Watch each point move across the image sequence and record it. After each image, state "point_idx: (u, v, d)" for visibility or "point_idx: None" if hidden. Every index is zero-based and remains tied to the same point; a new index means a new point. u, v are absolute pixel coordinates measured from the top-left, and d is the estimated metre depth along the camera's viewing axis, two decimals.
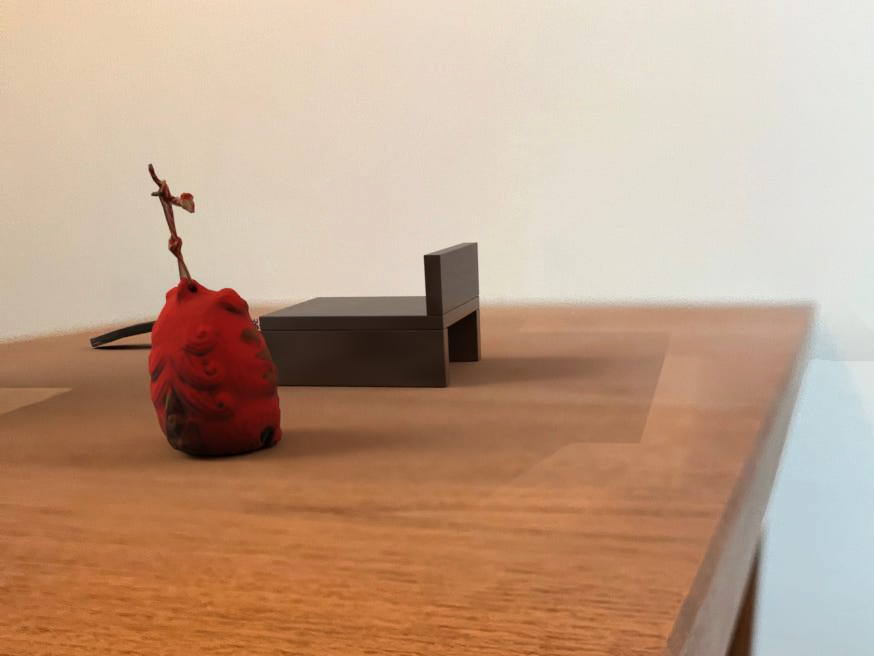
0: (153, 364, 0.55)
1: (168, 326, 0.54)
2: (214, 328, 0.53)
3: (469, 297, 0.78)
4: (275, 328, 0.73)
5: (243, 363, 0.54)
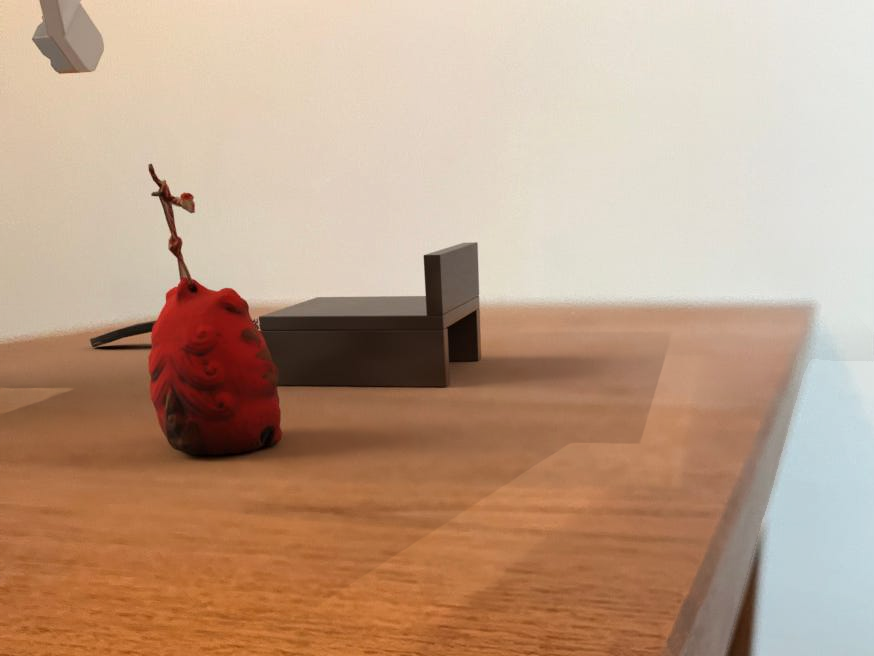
0: (153, 364, 0.55)
1: (168, 326, 0.54)
2: (214, 328, 0.53)
3: (469, 297, 0.78)
4: (275, 328, 0.73)
5: (243, 363, 0.54)
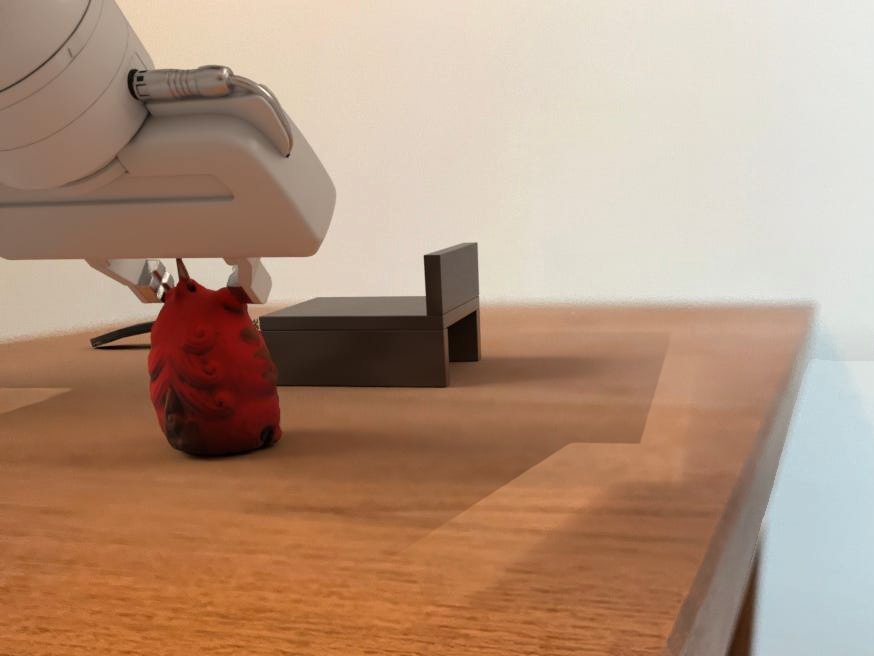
0: (152, 364, 0.55)
1: (167, 326, 0.54)
2: (213, 328, 0.53)
3: (469, 297, 0.78)
4: (275, 328, 0.73)
5: (242, 363, 0.54)
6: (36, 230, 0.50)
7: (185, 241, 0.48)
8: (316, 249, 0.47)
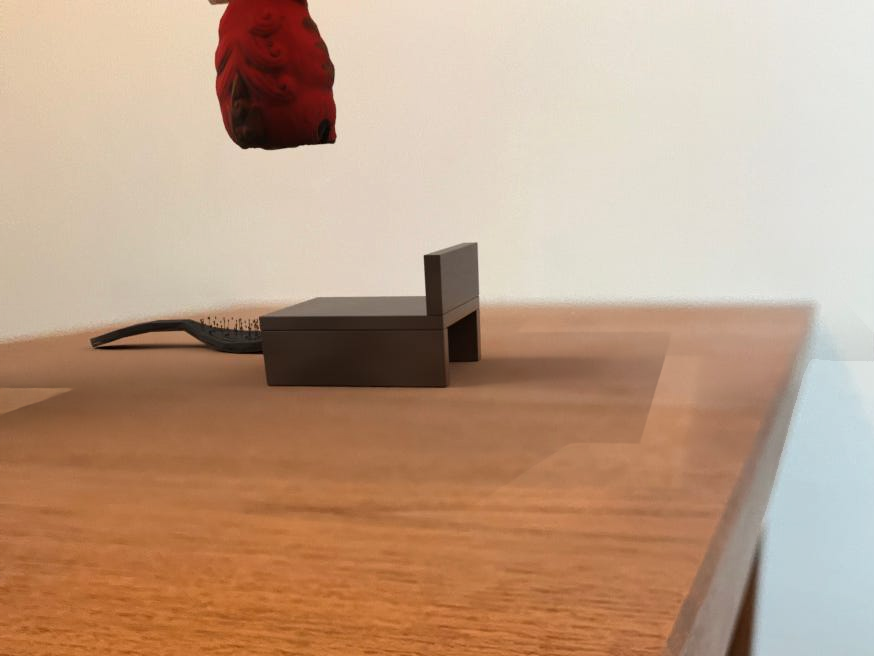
0: (220, 54, 0.59)
1: (236, 13, 0.58)
2: (278, 11, 0.57)
3: (469, 297, 0.78)
4: (275, 328, 0.73)
5: (304, 49, 0.58)
6: None
7: None
8: None
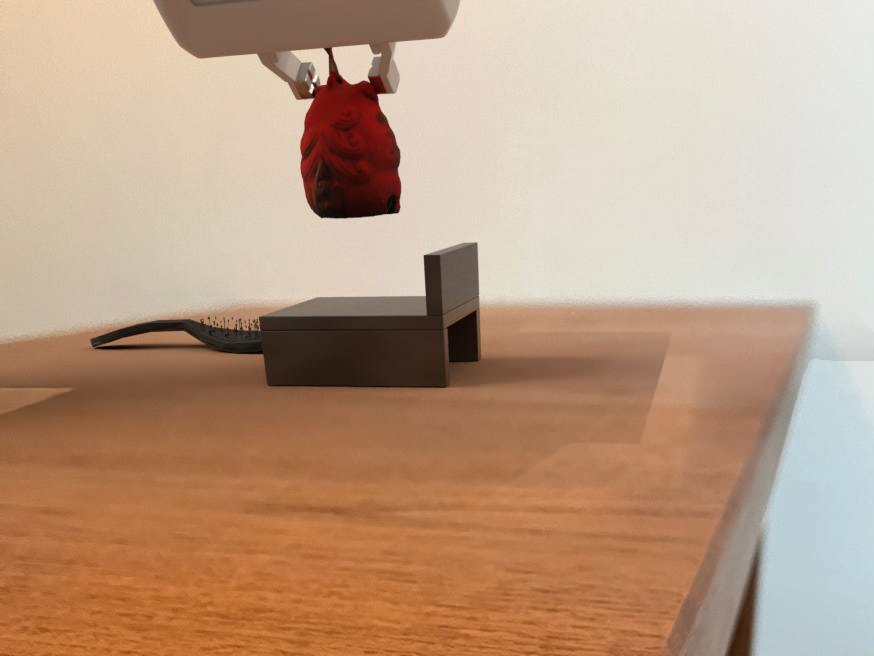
0: (306, 142, 0.71)
1: (320, 109, 0.70)
2: (356, 109, 0.69)
3: (469, 297, 0.78)
4: (275, 328, 0.73)
5: (377, 138, 0.70)
6: (229, 26, 0.66)
7: (346, 28, 0.64)
8: (447, 30, 0.63)
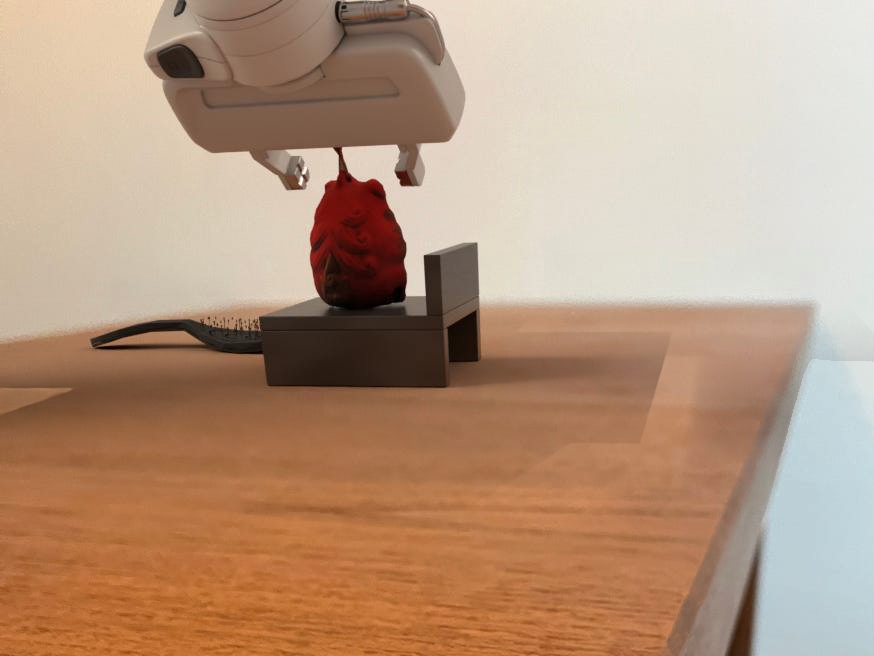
0: (316, 236, 0.74)
1: (330, 207, 0.72)
2: (365, 207, 0.72)
3: (469, 297, 0.78)
4: (275, 328, 0.73)
5: (384, 235, 0.73)
6: (242, 126, 0.69)
7: (355, 132, 0.67)
8: (451, 136, 0.66)
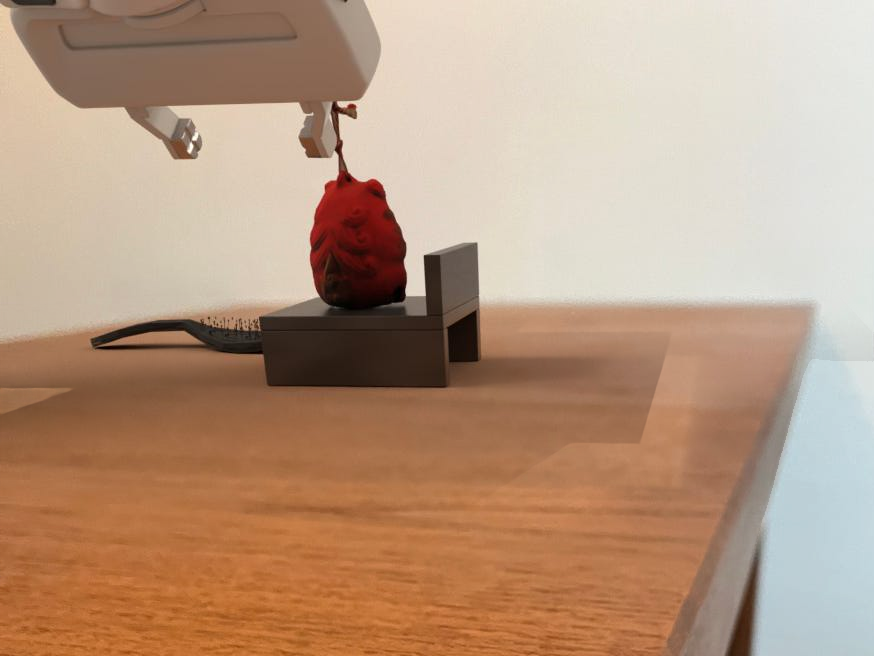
0: (316, 236, 0.74)
1: (330, 207, 0.72)
2: (365, 207, 0.72)
3: (469, 297, 0.78)
4: (275, 328, 0.73)
5: (384, 235, 0.73)
6: (111, 74, 0.57)
7: (247, 84, 0.55)
8: (362, 93, 0.55)
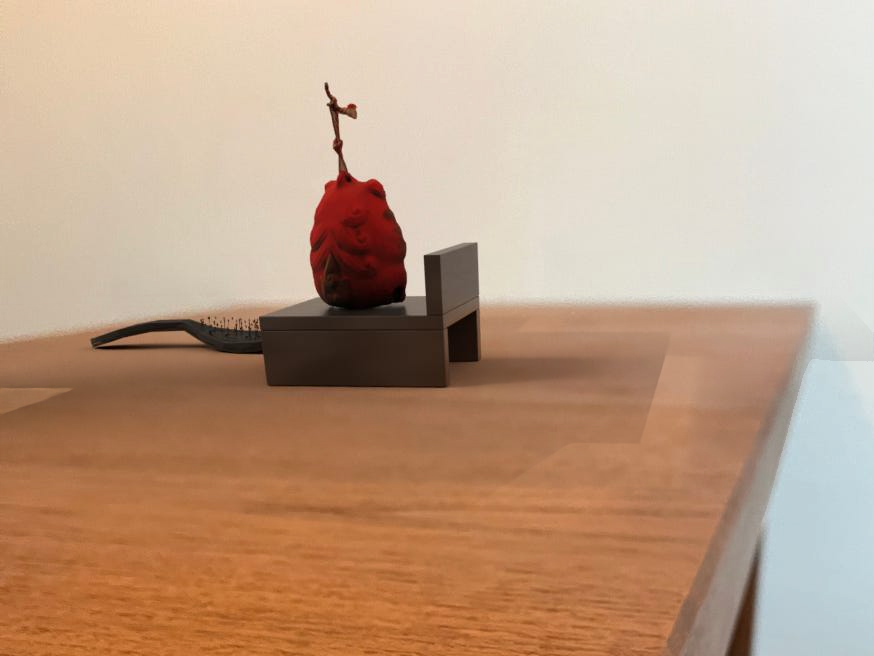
0: (316, 236, 0.74)
1: (330, 207, 0.72)
2: (365, 207, 0.72)
3: (469, 297, 0.78)
4: (275, 328, 0.73)
5: (384, 235, 0.73)
6: None
7: None
8: None
